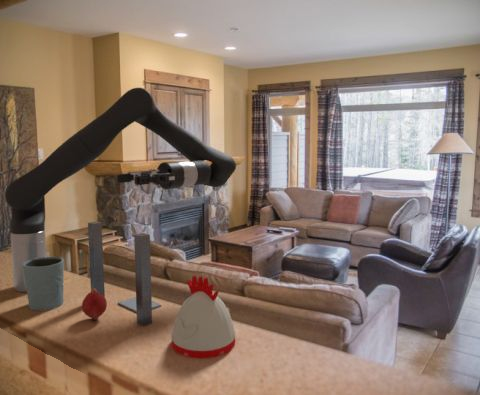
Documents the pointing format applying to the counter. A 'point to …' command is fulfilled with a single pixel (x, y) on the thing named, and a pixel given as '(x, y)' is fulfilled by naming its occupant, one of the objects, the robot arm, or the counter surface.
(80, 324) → the counter surface
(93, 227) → the left post
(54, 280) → the teal cup
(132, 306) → the mat
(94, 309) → the onion
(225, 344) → the kitchen timer
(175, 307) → the counter surface
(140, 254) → the right post
